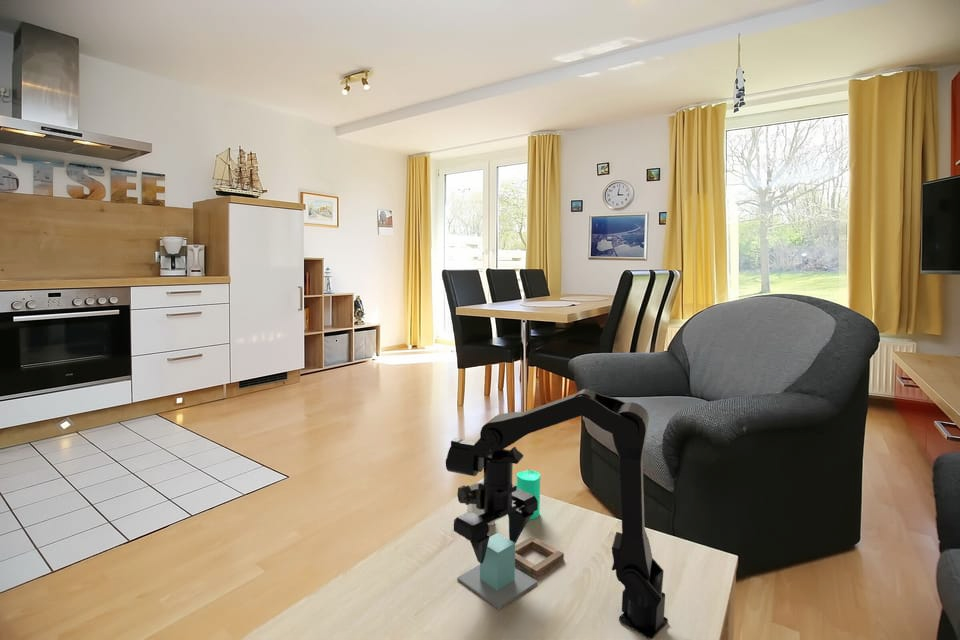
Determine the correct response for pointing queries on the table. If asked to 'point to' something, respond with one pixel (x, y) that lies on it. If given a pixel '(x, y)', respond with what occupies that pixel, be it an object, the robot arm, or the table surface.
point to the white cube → (476, 511)
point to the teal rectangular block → (498, 562)
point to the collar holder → (532, 542)
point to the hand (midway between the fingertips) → (496, 553)
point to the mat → (503, 594)
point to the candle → (530, 486)
